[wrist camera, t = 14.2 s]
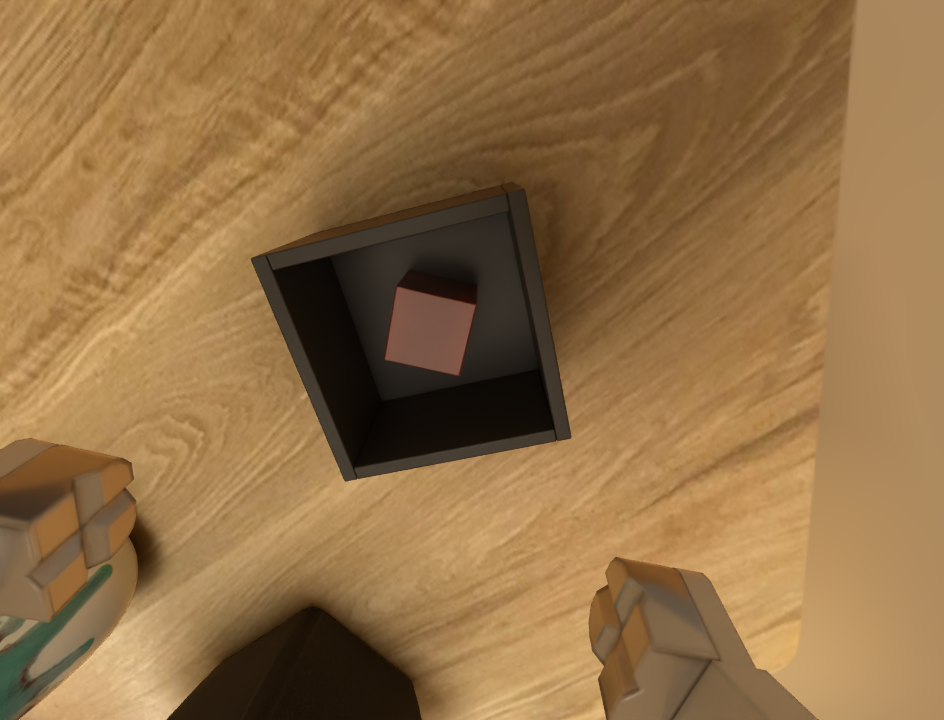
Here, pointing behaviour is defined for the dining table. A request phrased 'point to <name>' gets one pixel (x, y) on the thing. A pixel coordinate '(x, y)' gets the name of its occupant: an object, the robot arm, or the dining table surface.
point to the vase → (63, 635)
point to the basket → (407, 387)
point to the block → (431, 322)
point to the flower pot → (303, 679)
